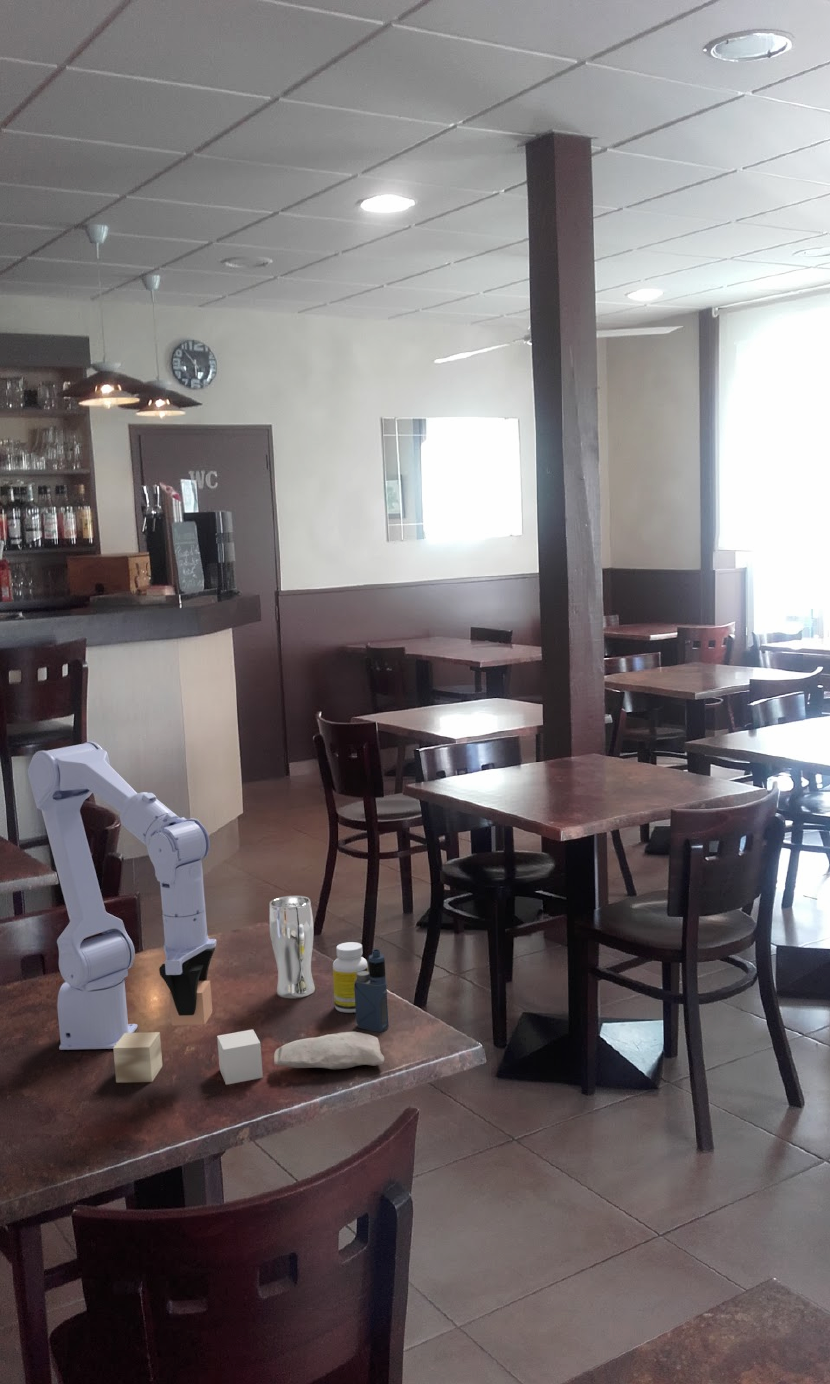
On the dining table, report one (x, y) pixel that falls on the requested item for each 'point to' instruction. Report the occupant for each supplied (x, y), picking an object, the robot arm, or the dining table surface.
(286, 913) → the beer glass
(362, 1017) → the vaping device
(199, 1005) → the terracotta cube
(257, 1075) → the white cube
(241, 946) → the dining table surface
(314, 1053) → the decorative stone
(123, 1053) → the birch cube
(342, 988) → the supplement bottle
